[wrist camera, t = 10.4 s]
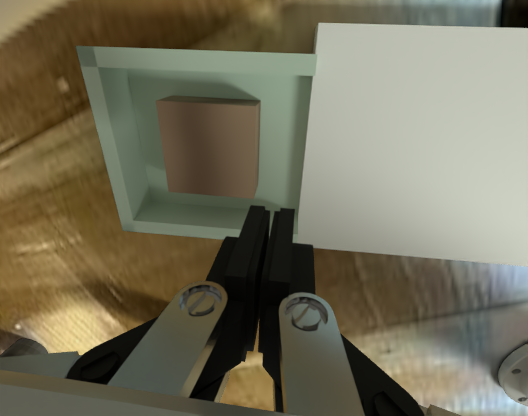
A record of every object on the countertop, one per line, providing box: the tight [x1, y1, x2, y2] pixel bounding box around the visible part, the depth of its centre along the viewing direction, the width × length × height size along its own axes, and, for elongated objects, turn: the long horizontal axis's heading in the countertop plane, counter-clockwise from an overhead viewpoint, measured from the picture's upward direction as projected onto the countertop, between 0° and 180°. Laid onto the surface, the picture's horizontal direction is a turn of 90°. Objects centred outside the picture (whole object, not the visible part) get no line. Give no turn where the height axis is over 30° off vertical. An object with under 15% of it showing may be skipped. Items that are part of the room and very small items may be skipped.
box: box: [76, 46, 318, 243], centre depth 20 cm, size 13×12×5 cm
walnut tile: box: [156, 95, 261, 199], centre depth 19 cm, size 6×6×2 cm
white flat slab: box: [297, 23, 528, 267], centre depth 19 cm, size 18×15×3 cm
